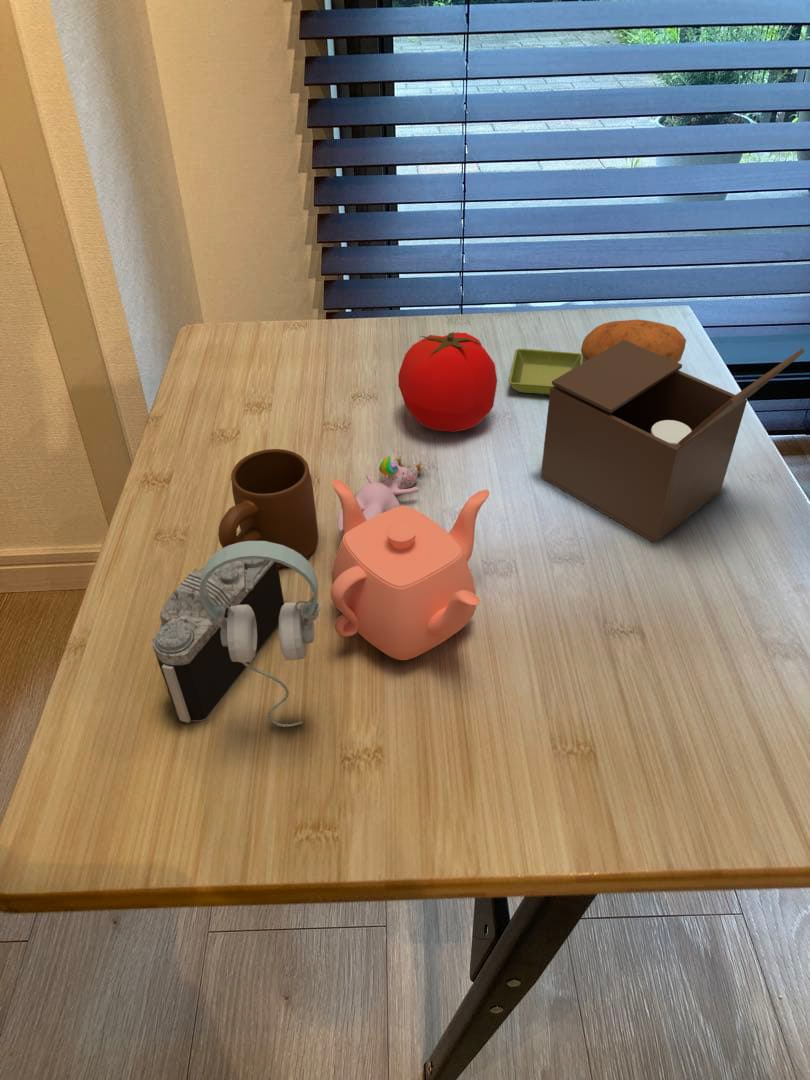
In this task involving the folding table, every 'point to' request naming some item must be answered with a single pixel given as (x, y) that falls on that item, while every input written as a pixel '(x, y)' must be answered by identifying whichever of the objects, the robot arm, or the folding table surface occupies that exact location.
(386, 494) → the pink animal figure
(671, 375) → the carton
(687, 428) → the pill bottle
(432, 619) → the teapot
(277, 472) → the mug
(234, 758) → the folding table surface
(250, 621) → the headphones
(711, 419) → the flap
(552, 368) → the olive green tray
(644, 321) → the potato
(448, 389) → the tomato
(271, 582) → the camera
